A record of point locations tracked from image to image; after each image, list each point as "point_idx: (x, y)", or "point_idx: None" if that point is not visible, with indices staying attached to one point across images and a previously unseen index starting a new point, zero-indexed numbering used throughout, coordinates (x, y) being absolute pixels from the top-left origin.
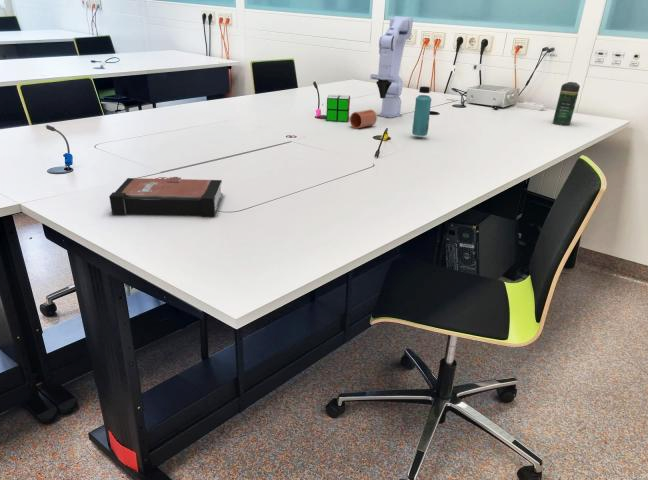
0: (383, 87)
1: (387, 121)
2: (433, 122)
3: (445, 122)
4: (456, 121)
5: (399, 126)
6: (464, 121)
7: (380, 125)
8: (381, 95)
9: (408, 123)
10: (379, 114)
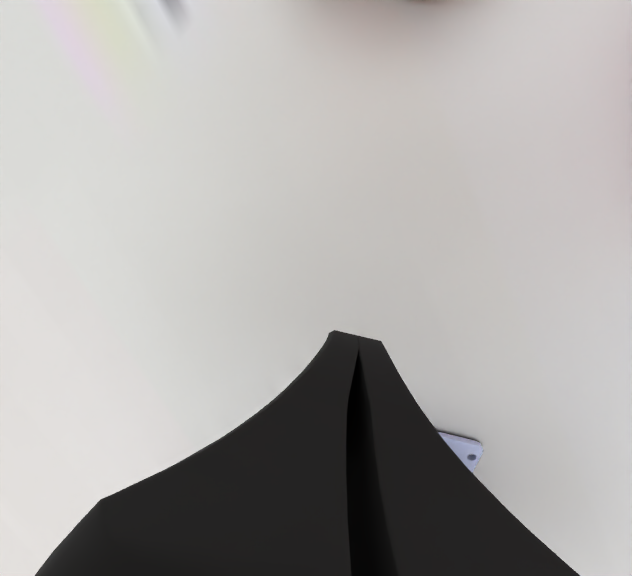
0: (248, 444)
1: (318, 294)
2: (81, 436)
3: (42, 467)
4: (27, 512)
5: (145, 177)
6: (6, 527)
7: (287, 90)
8: (349, 350)
9: (163, 324)
10: (463, 446)
